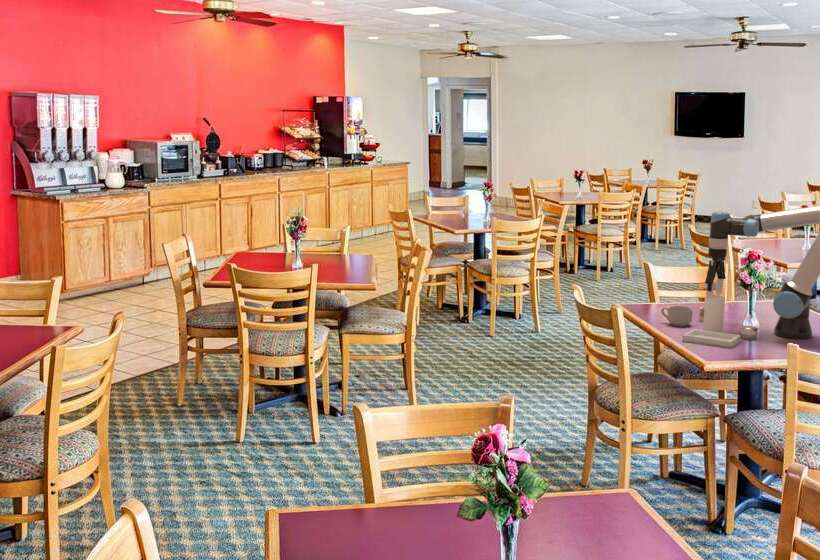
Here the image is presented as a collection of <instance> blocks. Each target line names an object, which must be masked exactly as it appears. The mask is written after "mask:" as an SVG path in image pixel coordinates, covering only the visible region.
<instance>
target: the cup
mask: <svg viewBox="0 0 820 560" xmlns="http://www.w3.org/2000/svg"><path fill="white" fill-rule="evenodd" d="M725 300H726V297H725V296H724V295H722V294H713V299H708V298H706V294H705V295H704V306H703V307H704V321H703V322H702V323H703V324H702V330H705V331H712V332H720V333H724V331H723V330H724V316H725V315H724V314H725V302H726V301H725Z"/></svg>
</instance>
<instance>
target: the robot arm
mask: <svg viewBox="0 0 820 560" xmlns="http://www.w3.org/2000/svg"><path fill="white" fill-rule="evenodd" d="M709 223H710V225H709V227H710V228H709V229H710V230H709V239H708V240H707V241H708V242H709V243H708V244H709V245H708V246H709V248H708V252H707V254H708V255H707V256H708V257H710V258H711V260H709V261H708V269H707V273H706V278H705V280H704V283H705V284H706V294H705V295H706V298H708V299H713V295H714V287H715V294H716V295H723V288H724V280H726V277H727V276H726V267H725V265H726V264H725V259H726V257H727V254H728V249H727V248H728V242H729V236H739V237H747V238H750V237H751V238H755V237H757V236H758V234H759V233H760V232H767V231H768V232H769V231H773V230H775V231H776V230H783V229H790V228H798V227H805V226H812V225H820V205H814V206H806V207H801V208H800V207H799V208H794V209H787V210H780V211H774V212H773V211H772V212H767V213H762V214H761V213H760V214H749V215H747V216H744V217H731V215H730V212H727V211H713V212H712V213H711V219H710V222H709ZM715 278H716V285H715V283H714V282H715ZM819 278H820V231H819V232H818V234H817V236H816V238H815V239H814V241H813V243H812V244H811V246H810V247H809V249H808V251H807V253H806V254H805V256H804V258H803V259H802V260H801V262H800V264H799V266H798V267H797V270H796V271H795V273H794V275H793V276H792V278H791V279H787V280H785V281H784V282H783V283H782V285H781V289H780V290H779V292H778V293H777V294H776V295H775V296H774V299H773V303H772V306H773V309H774V311H775V313H776V314H777V316H779V317H778V320H777V321H776V325H775V326H774V332H773V333H774V335H776V336H778V337H782V338H786V339H798V340H800V339H802V340H803V339H804V340H805V339H811V338H812V335H813V330H812V325H811V323H810V309H811V298H812V296H813V290H812V289H813V287H814V286H815V284H816V282H817V280H818V279H819Z"/></svg>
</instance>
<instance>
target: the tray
mask: <svg viewBox="0 0 820 560" xmlns="http://www.w3.org/2000/svg"><path fill="white" fill-rule="evenodd" d="M741 341H742V339H741V335H740V334H734V333H733V334H732V333H725V332H723V333H720V332H712V331H705V330H703V329H696V328H692V329H691V330H689V331H687V332H686V333H683V334H682V342H683V343H689V344H696V345H705V346H709V347H710V346H711V347H717V348H718V347H719V348H724V349H732V348H734V347H736V345H738V344H740V343H741Z"/></svg>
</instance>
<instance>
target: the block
mask: <svg viewBox="0 0 820 560" xmlns="http://www.w3.org/2000/svg"><path fill="white" fill-rule="evenodd" d="M698 317H699V318H698V322H699V321H701V323H703V321H704V306H700V307H699V315H698Z"/></svg>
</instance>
